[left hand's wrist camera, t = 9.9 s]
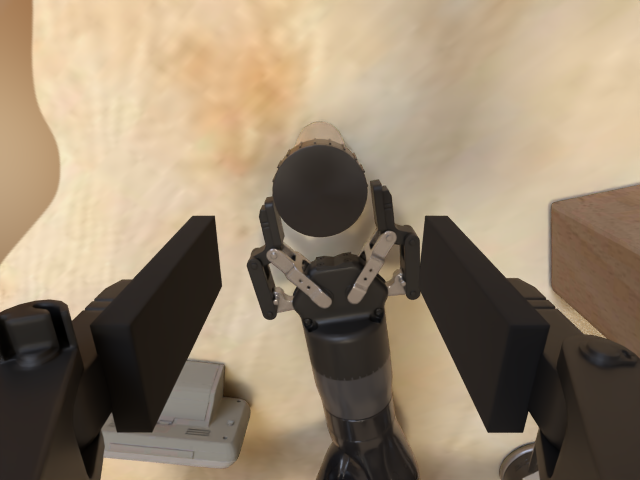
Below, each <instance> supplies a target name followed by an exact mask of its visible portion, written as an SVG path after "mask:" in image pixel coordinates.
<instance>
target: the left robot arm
mask: <svg viewBox="0 0 640 480" xmlns="http://www.w3.org/2000/svg"><path fill="white" fill-rule="evenodd" d="M221 287H222V281H221V271H220V262H219V252H218V243H217V233H216V223H215V216H192V217H191V218H190V219H189V220H188V221H187V222H186V223H185V224H184V226H183V227H182V228H181V229H180V230H179V231H178V232H177V233H176V234H175V235H174V236H173V237H172V238H171V239H170V240H169V241H168V243H167V244H166V245H165V246H164V247H163V248H162V249H161V250H160V251H159V252H158V253H157V254H156V255H155V256H154V257H153V258H152V260H151V261H150V262H149V263H148V264H147V265H146V266H145V267H144V268H143V269H142V270H141V271H140V272H139V273H138V274H137V275H136V276H135V278H134V279H133V280H121V281H119V282H117V283H115V284H113V285H111V286H109V287H108V288H106V289H105V290H103V291H102V292H101V293H100V294H99V295H98V296H97V297H96V298H95V299H94V301H92V302H91V303H90V304H89V305H88V306H87V307H86V308H85V311H82V312H81V313H80V314H79V315H78V316H77V317H76V318H75V319H74V320H71V317H70V313H69V309H68V306H67V304H65V303H63V302H62V301H57V300H39V301H33V302H28V303H24V304H20V305H17V306H14V307H12V308H9V309H6V310H4V311H2V312H0V480H100V479H101V471H102V464H103V456H104V449H105V443H104V437H103V434H102V430H101V429H102V427H103V425H104V424H105V422H106V421H107V419H108V417H109V416H110V414H111V413H112V415H113V419H114V423H115V427H116V431H117V433H152V432H153V430H154V428H155V426H156V424H157V421H158V419H159V417H160V415H161V413H162V411H163V409H164V407H165V405H166V403H167V400H168V398H169V396H170V394H171V392H172V390H173V388H174V386H175V384H176V382H177V379H178V377H179V375H180V373H181V371H182V369H183V367H184V365H185V363H186V361H187V359H188V356H189V354H190V352H191V350H192V348H193V346H194V344H195V342H196V340H197V338H198V335H199V333H200V331H201V329H202V327H203V325H204V323H205V321H206V319H207V317H208V315H209V312H210V310H211V308H212V306H213V304H214V302H215V300H216V298H217V296H218V294H219V291H220V289H221ZM418 287H419V289H420V291H421V294H422V296H423V298H424V300H425V302H426V304H427V306H428V308H429V310H430V312H431V315H432V317H433V319H434V321H435V323H436V325H437V327H438V329H439V331H440V333H441V335H442V338H443V340H444V342H445V344H446V346H447V348H448V350H449V352H450V354H451V356H452V359H453V361H454V363H455V365H456V367H457V369H458V371H459V373H460V375H461V377H462V379H463V382H464V384H465V386H466V388H467V390H468V392H469V394H470V396H471V398H472V400H473V403H474V405H475V407H476V409H477V411H478V413H479V415H480V417H481V419H482V421H483V424H484V426H485V428H486V430H487V432H488V433H523V431H524V427H525V423H526V419H527V415H528V411H529V412H530V414H531V415H532V417H533V419H534V420H535V422H536V423H537V425H538V426H539V430H538V434H537V437H536V441H535V445H534V448H533V452H532V455H531V459H530V463H529V468H528V472H529V473H533V474H534V471H535V468H536V465H537V464H538V470H539V477H540V480H640V358H639V357H638V356H637V355H636V354H635V353H633V352H632V351H630V350H629V349H627V348H626V347H624V346H623V345H620V344H618V343H616V342H614V341H611V340H609V339H605V338H602V337H598V336H594V335H585V334H583V333H582V332H581V331H580V330H579V329H578V328H577V327H576V326H575V325H574V324H573V323H572V322H571V321H570V320H568V319H567V318H566V317H565V316H564V315H563V314H562V313H561V312H560V311H559V310H558V309H555V306H554V305H553V304H552V303H551V302H550V301H549V300H546V297H545V296H544V295H542V294H541V293H540V292H539V291H538V290H537V289H536V288H535V287H533V286H532V285H530V284H528V283H526V282H524V281H522V280H520V279H519V278H505V276H504V275H503V274H502V273H501V272H500V271H499V270H498V269H497V268H496V267H495V266H494V265H493V264H492V263H491V262H490V261H489V260H488V258H487V257H486V256H485V255H484V254H483V253H482V252H481V251H480V250H479V249H478V248H477V247H476V246H475V245H474V244H473V243H472V241H471V240H470V239H469V238H468V237H467V236H466V235H465V234H464V233H463V232H462V231H461V230H460V229H459V228H458V227H457V226H456V224H455V223H454V222H453V221H452V220H451V219H450V218H449V217H448V216H425V223H424V233H423V243H422V252H421V262H420V271H419V281H418Z"/></svg>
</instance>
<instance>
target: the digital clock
mask: <svg viewBox="0 0 640 480" xmlns="http://www.w3.org/2000/svg"><path fill="white" fill-rule="evenodd" d="M223 385H224V365H223V364H214V363H204V362H195V361H186V363H185V365H184V367H183V369H182V371H181V373H180V375H179V377H178V379H177V382H176V384H175V386H174V388H173V390H172V392H171V394H170V396H169V398H168V400H167V403H166V405H165V407H164V409H163V411H162V413H161V415H160V417H159V419H158V421H157V424H156V426H155V428H154V430H153V432H152V433H117V431H116V427H115V423H114V419H113V415H112V413H111V414H110V416H109V417H108V419H107V421H106V422H105V424H104V425H103V427H102V429H101V430H102V434H103V437H104V443H105V449H104V456H103V457H104V458H115V459H125V460H136V461H146V462H156V463H167V464H177V465H188V466H198V467H210V468H228V467H229V466H230V465H232V464H233V463H234V462H235V461H236V460H237V459H238V457H239V454H240V451H241V447H242V444H243V440H244V436H245V433H246V429H247V425H248V422H249V418H250V406H249V404H248V403H247V402H246V401H245V400H243V399H239V398H230V397H223Z"/></svg>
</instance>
